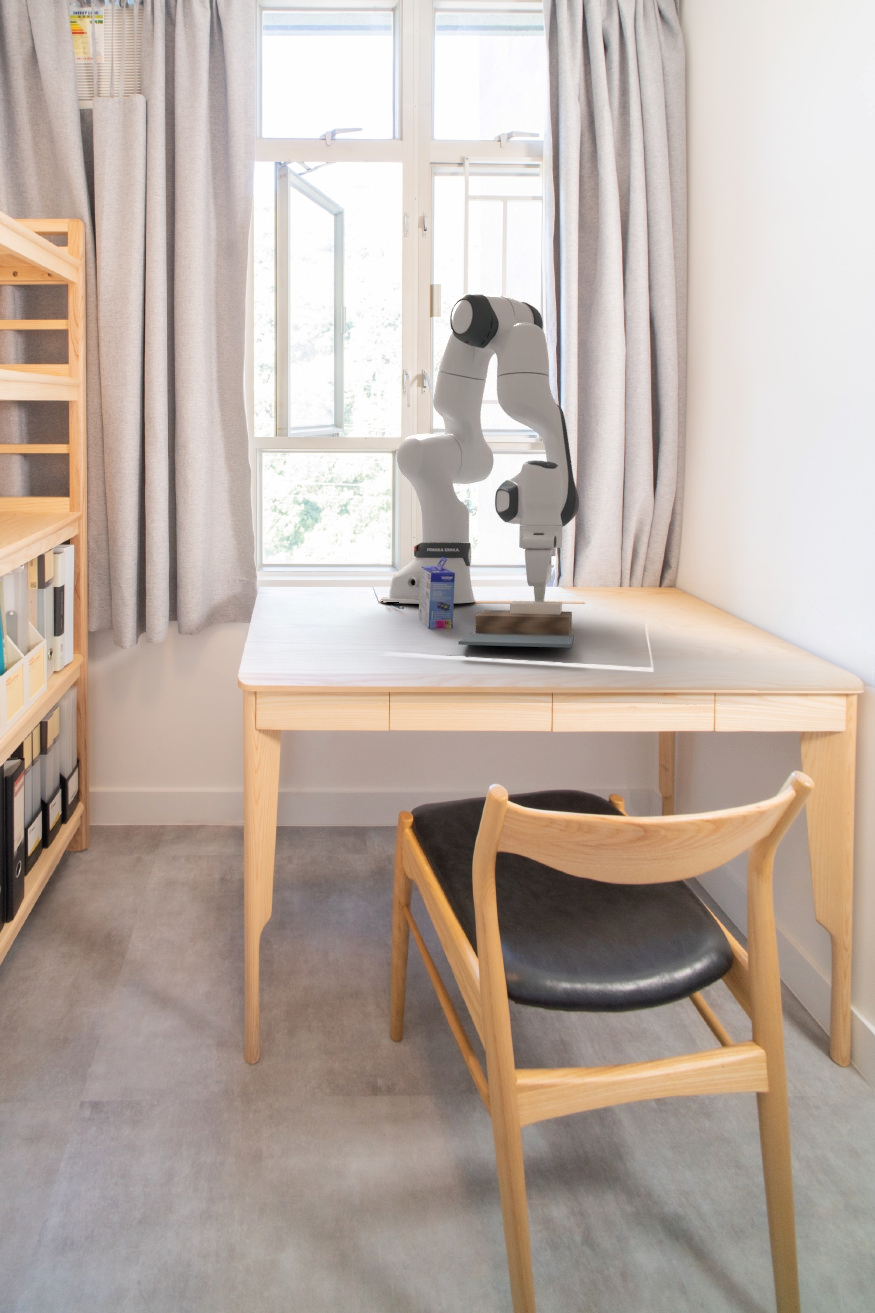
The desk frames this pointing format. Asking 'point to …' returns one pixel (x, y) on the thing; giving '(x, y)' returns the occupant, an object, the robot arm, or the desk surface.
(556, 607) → the white flat block
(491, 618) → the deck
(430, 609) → the ink cartridge box
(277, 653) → the desk surface
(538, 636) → the mat
